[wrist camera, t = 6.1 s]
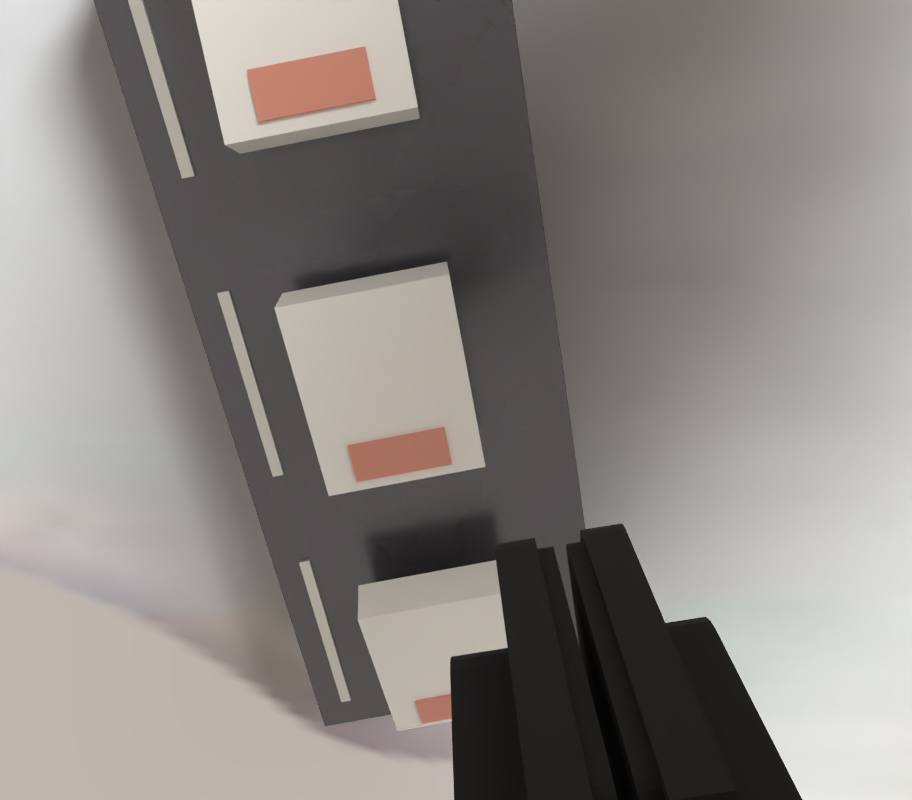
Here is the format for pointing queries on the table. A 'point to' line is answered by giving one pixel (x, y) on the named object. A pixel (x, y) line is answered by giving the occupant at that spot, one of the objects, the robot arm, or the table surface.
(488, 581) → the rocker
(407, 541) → the power strip
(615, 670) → the robot arm
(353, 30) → the block
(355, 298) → the plate
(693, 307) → the table surface
